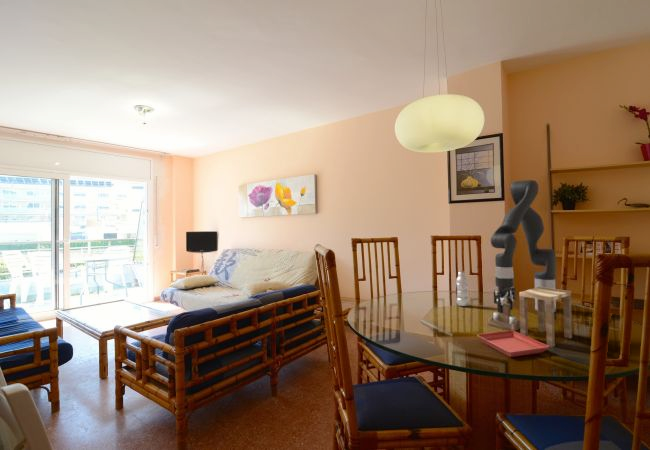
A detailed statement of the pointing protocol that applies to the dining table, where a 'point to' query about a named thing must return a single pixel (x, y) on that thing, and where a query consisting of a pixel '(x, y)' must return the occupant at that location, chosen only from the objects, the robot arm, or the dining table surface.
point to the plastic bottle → (462, 289)
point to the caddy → (504, 319)
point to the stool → (549, 296)
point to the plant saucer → (512, 343)
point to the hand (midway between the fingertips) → (505, 311)
